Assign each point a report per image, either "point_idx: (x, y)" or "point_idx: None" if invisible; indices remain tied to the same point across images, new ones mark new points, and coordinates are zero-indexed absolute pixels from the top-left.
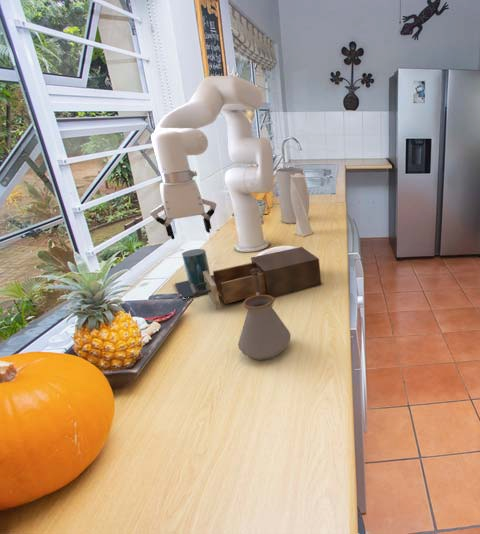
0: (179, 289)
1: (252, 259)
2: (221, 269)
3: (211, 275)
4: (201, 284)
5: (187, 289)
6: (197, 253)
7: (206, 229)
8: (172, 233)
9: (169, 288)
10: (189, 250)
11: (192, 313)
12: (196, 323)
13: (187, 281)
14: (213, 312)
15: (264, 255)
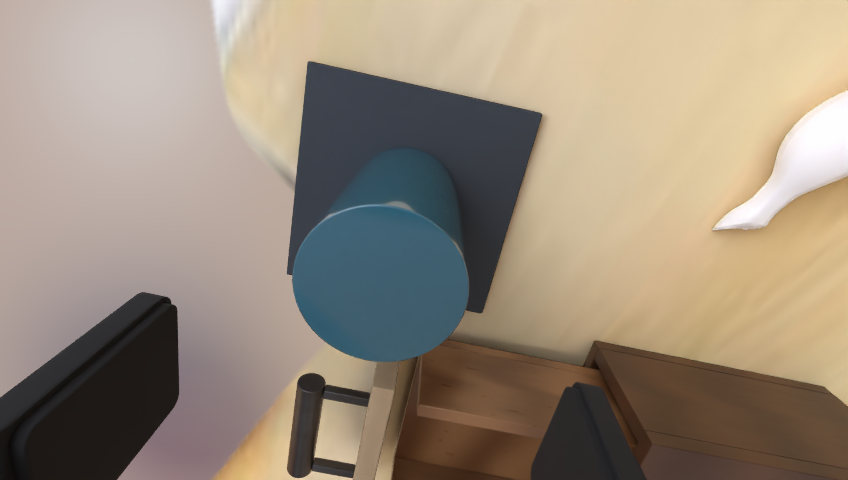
0: (304, 170)
1: None
2: (462, 417)
3: (502, 108)
4: (345, 400)
5: (335, 199)
6: (392, 332)
7: (547, 473)
8: (122, 459)
9: (274, 83)
10: (372, 212)
11: (293, 397)
12: (284, 459)
13: (368, 89)
14: (351, 437)
15: (722, 469)
